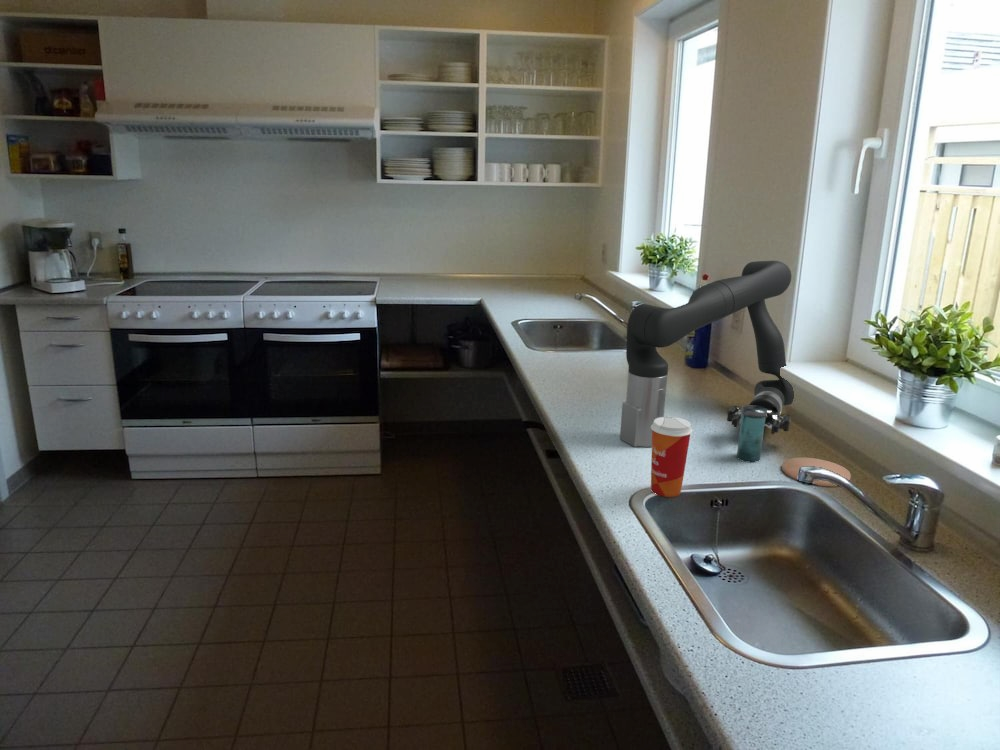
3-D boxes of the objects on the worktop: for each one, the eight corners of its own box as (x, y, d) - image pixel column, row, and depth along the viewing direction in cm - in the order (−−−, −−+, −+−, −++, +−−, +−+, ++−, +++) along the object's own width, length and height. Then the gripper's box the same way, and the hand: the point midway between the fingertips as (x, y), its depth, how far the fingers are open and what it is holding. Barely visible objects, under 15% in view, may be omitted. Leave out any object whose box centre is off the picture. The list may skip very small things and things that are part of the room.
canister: (748, 464, 168) (754, 413, 164) (730, 455, 172) (736, 406, 169) (766, 460, 170) (772, 410, 167) (748, 452, 175) (754, 403, 172)
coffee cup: (642, 482, 156) (648, 415, 152) (681, 483, 156) (688, 416, 152) (649, 499, 148) (655, 428, 144) (690, 500, 148) (697, 430, 144)
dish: (819, 490, 154) (820, 486, 154) (768, 467, 166) (768, 462, 166) (864, 480, 160) (865, 475, 160) (811, 457, 172) (812, 453, 172)
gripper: (737, 389, 189) (724, 406, 175) (797, 399, 182) (788, 416, 169) (734, 417, 191) (721, 436, 177) (792, 427, 184) (784, 447, 171)
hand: (754, 426), depth 173 cm, fingers open, 8 cm apart
